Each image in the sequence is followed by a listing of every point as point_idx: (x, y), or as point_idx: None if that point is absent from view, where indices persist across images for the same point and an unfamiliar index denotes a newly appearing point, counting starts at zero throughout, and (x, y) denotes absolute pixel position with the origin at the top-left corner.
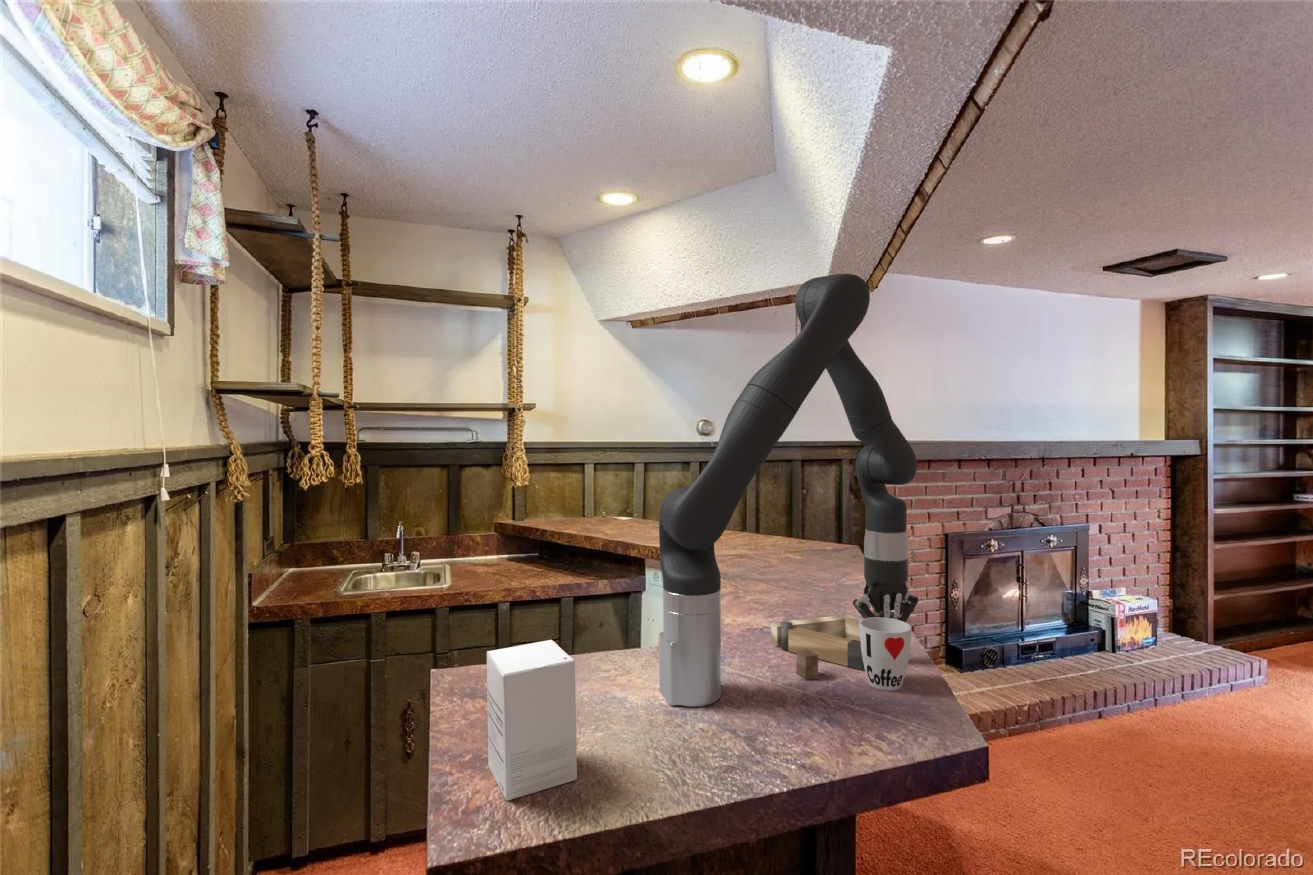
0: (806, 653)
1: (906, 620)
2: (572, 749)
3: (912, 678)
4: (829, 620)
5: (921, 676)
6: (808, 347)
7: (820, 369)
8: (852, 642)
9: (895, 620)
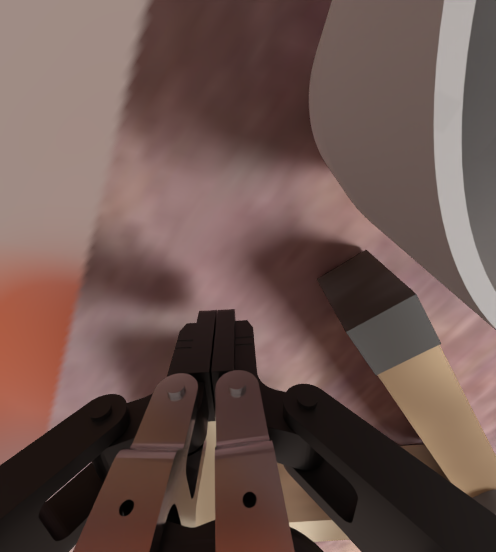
0: None
1: (59, 425)
2: None
3: (220, 125)
4: (298, 524)
5: (167, 134)
6: None
7: None
8: (410, 348)
9: (462, 213)
